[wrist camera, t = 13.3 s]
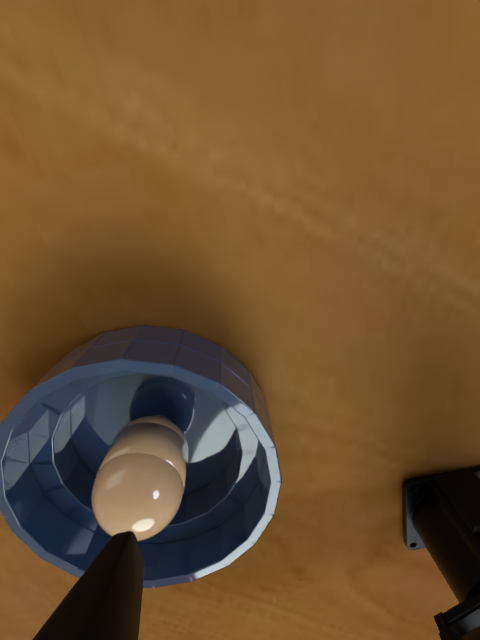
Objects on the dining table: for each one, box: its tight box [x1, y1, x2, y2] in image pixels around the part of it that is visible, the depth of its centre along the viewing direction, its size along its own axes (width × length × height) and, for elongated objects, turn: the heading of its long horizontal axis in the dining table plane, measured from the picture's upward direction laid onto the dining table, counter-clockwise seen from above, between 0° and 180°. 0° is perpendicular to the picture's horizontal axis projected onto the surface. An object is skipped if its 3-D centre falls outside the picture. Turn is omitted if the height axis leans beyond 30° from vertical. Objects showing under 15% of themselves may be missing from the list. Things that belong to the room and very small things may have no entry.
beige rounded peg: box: [91, 415, 188, 541], centre depth 18 cm, size 4×4×7 cm
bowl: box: [0, 325, 282, 588], centre depth 19 cm, size 14×14×5 cm
